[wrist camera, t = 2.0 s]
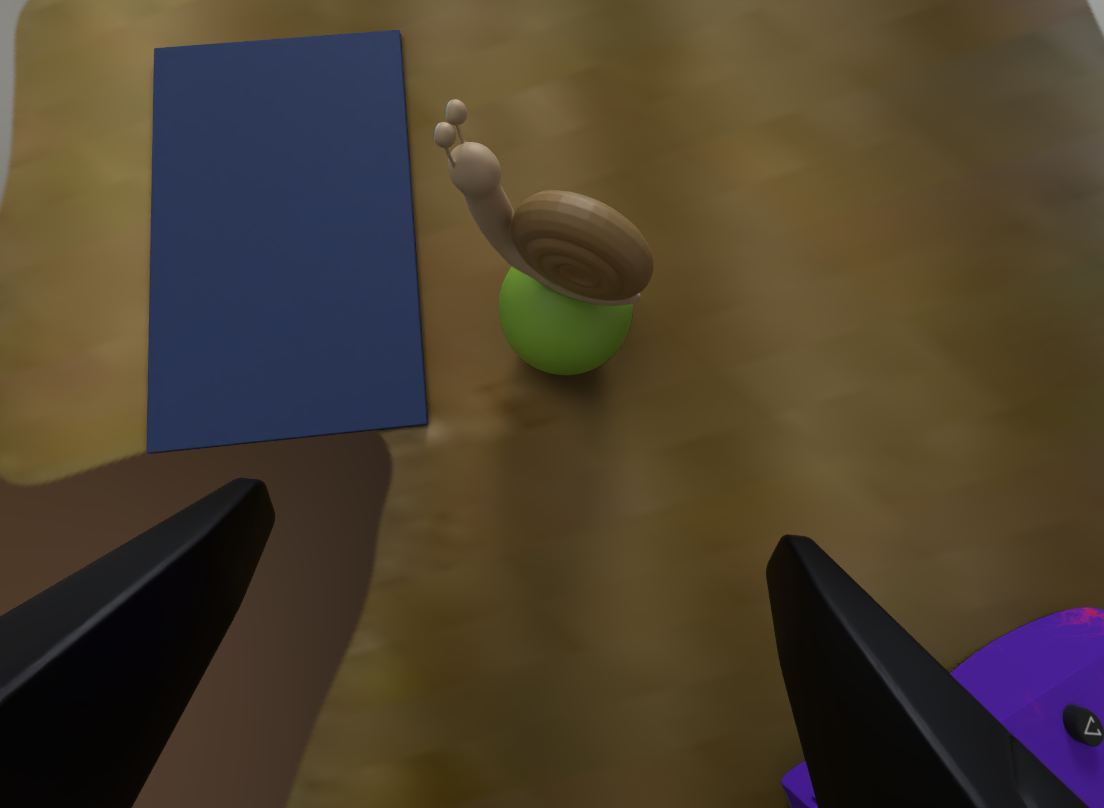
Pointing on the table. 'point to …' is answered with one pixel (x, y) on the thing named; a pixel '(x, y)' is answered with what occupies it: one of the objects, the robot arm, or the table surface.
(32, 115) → the table surface
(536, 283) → the snail figurine
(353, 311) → the navy cloth
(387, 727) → the table surface
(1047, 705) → the handheld gaming console
